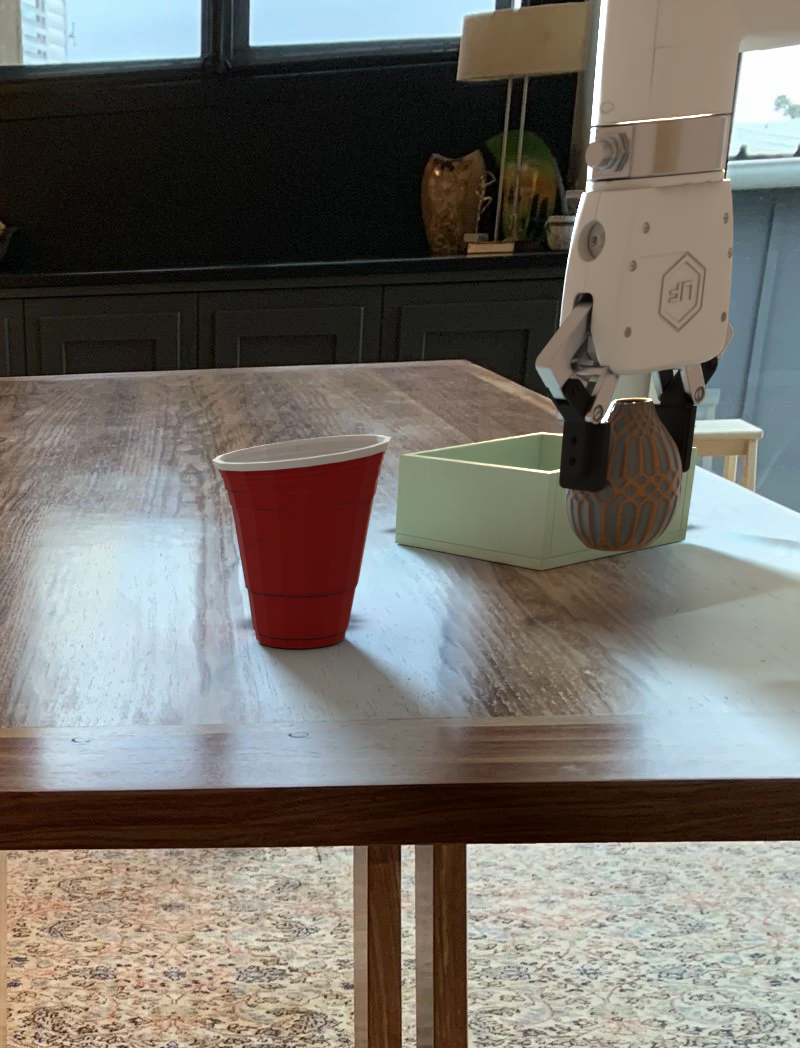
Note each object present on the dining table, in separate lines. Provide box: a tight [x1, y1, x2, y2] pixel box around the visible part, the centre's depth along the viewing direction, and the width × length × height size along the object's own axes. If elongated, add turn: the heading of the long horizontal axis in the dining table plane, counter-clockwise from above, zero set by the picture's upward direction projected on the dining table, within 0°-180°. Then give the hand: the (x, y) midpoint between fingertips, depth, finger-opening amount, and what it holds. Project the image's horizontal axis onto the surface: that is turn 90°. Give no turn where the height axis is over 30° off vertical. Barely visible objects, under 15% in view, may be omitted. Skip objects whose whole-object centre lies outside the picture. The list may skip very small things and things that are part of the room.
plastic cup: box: [211, 434, 392, 650], centre depth 96 cm, size 11×11×12 cm
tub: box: [394, 431, 699, 572], centre depth 119 cm, size 16×16×7 cm
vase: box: [566, 397, 683, 552], centre depth 96 cm, size 7×7×9 cm
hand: (624, 477), depth 96 cm, fingers closed on vase, 6 cm apart
